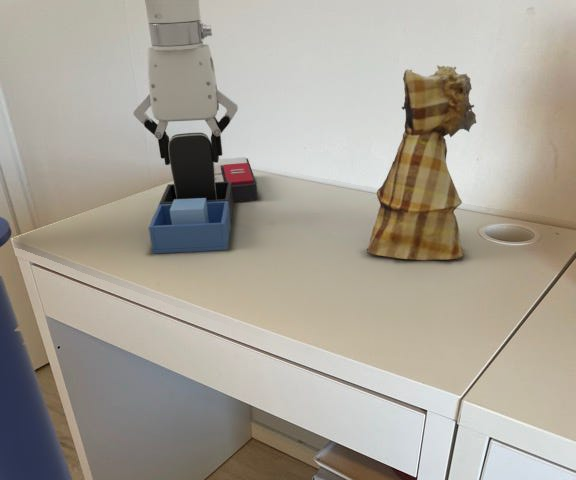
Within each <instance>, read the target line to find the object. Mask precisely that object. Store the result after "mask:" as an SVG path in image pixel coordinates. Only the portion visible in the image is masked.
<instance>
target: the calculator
mask: <svg viewBox="0 0 576 480" xmlns="http://www.w3.org/2000/svg"><path fill="white" fill-rule="evenodd" d="M214 171H215V182H227V181H232V191H233V202H234V203H239V202H249V201H257V200H258V199H259V198H258V186H257V185H258V184H257V181H256V178H255V175H254V172H253V169H252V167H251V164H250V161H249V159H248V158H247V157H245V156H240V157H228V158H219V160H218V163H215V162H214Z"/></svg>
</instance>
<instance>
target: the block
mask: <svg viewBox="0 0 576 480" xmlns="http://www.w3.org/2000/svg"><path fill="white" fill-rule="evenodd" d="M170 216H171V222H172V225H181V224H202V223H209V219H208V211H207V202H206V198H194V199H174V201H173V203H172V206H171V208H170Z"/></svg>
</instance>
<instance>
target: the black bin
mask: <svg viewBox="0 0 576 480" xmlns="http://www.w3.org/2000/svg"><path fill="white" fill-rule="evenodd" d="M215 188H216V196H217V200H206V202H219V201H228V202H229V213H230V223H231V224H232V220H233V219H232V218H233V212H234V204H235V202H233V191H232V181H227V182H215ZM174 199H176V192H175V186H174V183H170V184H169V183H168V184H167V186H166V188H165V190H164V192H163V194H162V196H161V199H160V201H159V203H158V205H159V204H162V205H163V204H172V203H173V201H174Z"/></svg>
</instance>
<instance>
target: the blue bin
mask: <svg viewBox="0 0 576 480" xmlns="http://www.w3.org/2000/svg"><path fill="white" fill-rule="evenodd" d="M171 206H172V204H163V205H162V204H159V203H158V206H157V208H156V210H155V212H154V213H153V216H152V219H151V221H150V223H149V225H148V233H149V238H150V243H151V249H152V254H171V253H172V254H173V253H192V252H211V251H213V252H215V251H227V250H228V248H229V242H230V235H231V234H230V233H231V227H232V222H231V223H230V213H229V202H228V201H219V202H207V211H208V219H209V223H202V224H181V225H172V222H171V216H170V208H171Z"/></svg>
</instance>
